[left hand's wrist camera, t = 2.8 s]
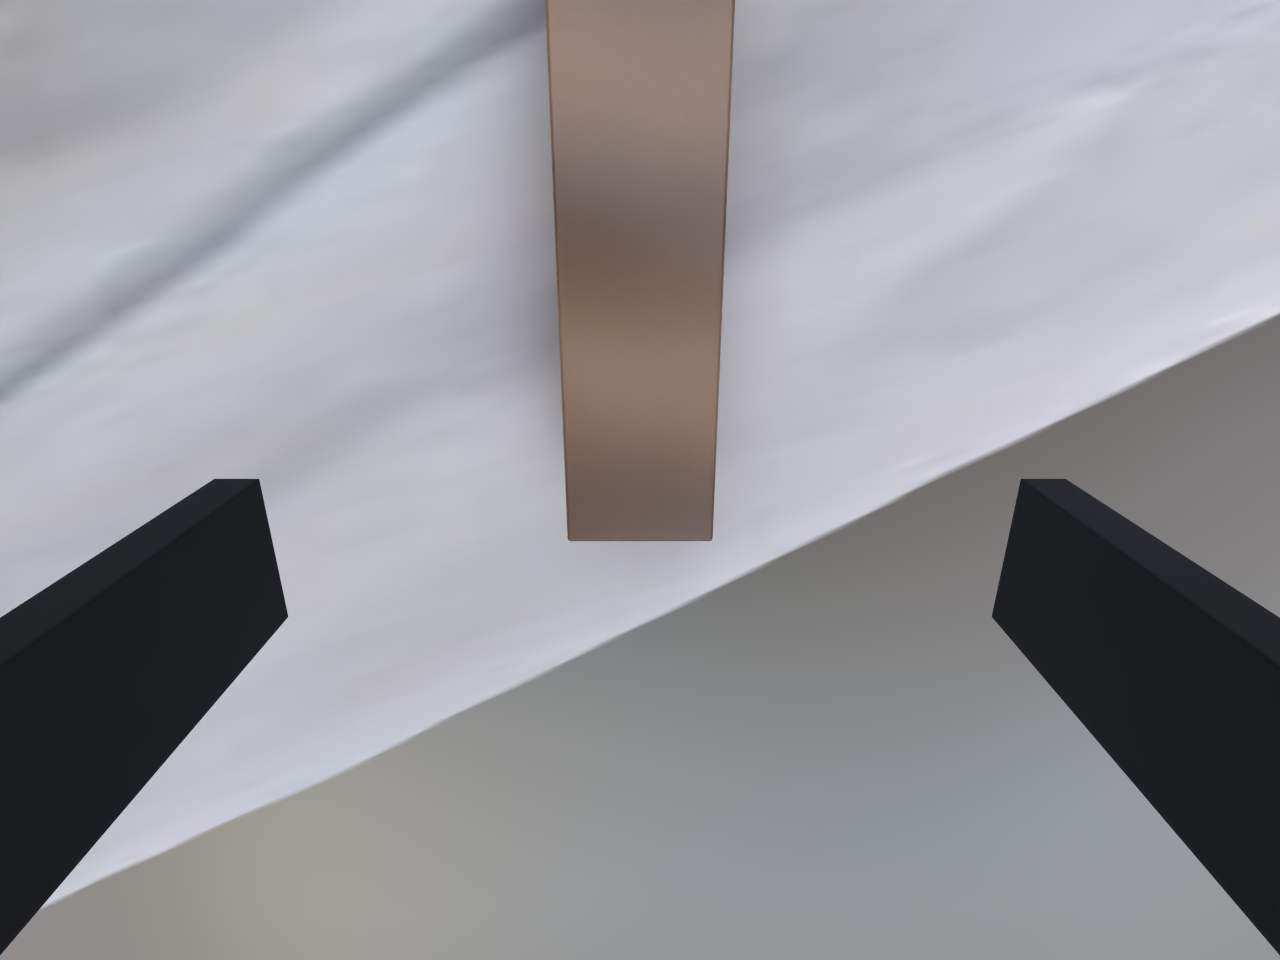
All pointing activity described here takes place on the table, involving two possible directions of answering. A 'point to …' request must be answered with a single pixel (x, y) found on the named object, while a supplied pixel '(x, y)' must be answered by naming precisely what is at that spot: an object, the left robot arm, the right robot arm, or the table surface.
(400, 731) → the table surface
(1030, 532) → the left robot arm
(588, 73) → the post
